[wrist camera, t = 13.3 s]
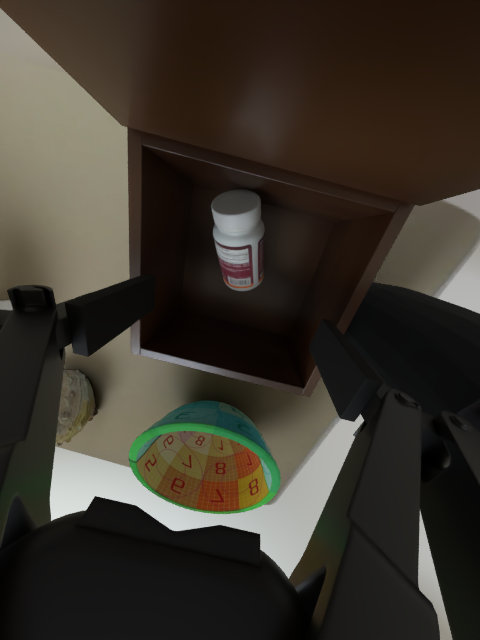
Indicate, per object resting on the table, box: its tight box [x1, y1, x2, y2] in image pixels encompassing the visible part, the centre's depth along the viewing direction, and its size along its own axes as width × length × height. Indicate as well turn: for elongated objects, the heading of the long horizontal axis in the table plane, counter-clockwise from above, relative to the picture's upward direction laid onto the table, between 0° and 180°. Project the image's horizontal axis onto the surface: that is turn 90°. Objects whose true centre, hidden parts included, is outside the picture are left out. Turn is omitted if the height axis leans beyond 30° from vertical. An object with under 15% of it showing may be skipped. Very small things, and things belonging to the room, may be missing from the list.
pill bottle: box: [211, 189, 265, 291], centre depth 19 cm, size 5×5×8 cm
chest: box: [127, 127, 415, 397], centre depth 20 cm, size 17×18×11 cm
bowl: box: [129, 400, 281, 514], centre depth 32 cm, size 22×22×10 cm
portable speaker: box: [344, 282, 480, 432], centre depth 17 cm, size 9×9×20 cm
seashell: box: [56, 369, 98, 446], centre depth 33 cm, size 11×15×10 cm
